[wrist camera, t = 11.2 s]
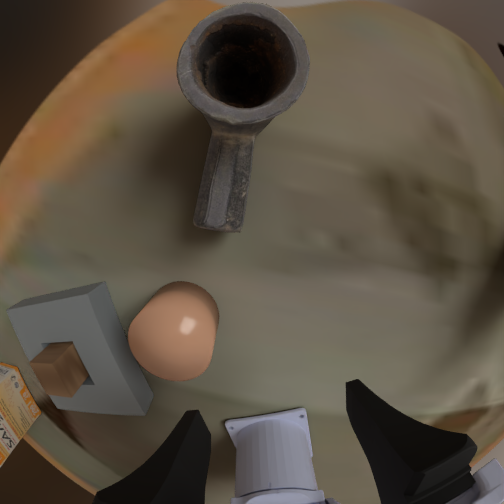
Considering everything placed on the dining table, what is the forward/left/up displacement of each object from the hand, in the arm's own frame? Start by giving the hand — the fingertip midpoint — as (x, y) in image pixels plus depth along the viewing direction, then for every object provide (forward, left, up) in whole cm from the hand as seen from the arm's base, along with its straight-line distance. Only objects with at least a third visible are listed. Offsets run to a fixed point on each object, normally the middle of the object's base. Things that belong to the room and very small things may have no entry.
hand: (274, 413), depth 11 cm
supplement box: (-6, +35, -10) cm, 37 cm away
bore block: (0, +18, -10) cm, 21 cm away
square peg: (0, +18, -10) cm, 21 cm away
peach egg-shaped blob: (+2, +6, -10) cm, 12 cm away
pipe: (+14, -1, -10) cm, 17 cm away
